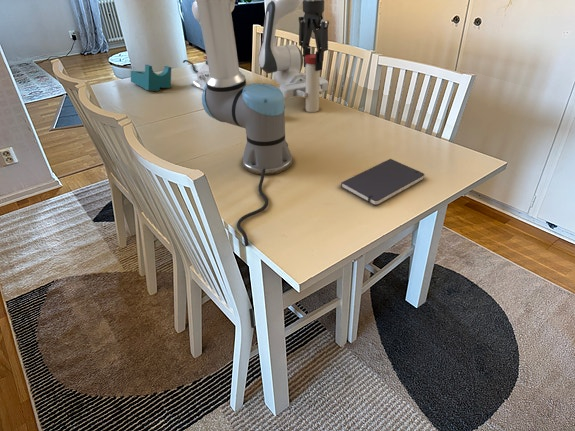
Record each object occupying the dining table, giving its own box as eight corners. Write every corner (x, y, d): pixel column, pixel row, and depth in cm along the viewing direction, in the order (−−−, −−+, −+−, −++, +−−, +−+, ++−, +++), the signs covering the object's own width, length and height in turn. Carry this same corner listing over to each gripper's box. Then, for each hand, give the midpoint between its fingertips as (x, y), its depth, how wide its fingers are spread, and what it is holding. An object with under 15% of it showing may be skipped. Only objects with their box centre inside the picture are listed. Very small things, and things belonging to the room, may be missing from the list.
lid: (301, 62, 151) (301, 56, 149) (310, 59, 154) (310, 53, 153) (315, 65, 147) (315, 58, 146) (324, 61, 151) (324, 55, 150)
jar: (302, 108, 163) (302, 58, 151) (314, 106, 165) (315, 56, 153) (310, 113, 159) (310, 61, 147) (321, 110, 161) (323, 59, 149)
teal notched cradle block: (170, 90, 188) (171, 67, 184) (148, 90, 181) (148, 66, 177) (152, 82, 199) (152, 60, 195) (130, 81, 192) (130, 58, 187)
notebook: (389, 163, 124) (340, 187, 113) (390, 158, 123) (341, 182, 112) (424, 178, 116) (375, 206, 105) (425, 174, 115) (376, 201, 104)
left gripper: (274, 80, 162) (289, 90, 152) (318, 72, 169) (335, 81, 159) (274, 95, 165) (290, 106, 155) (317, 87, 173) (335, 97, 163)
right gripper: (340, 0, 135) (337, 71, 148) (303, -5, 147) (303, 61, 160) (324, 3, 131) (322, 75, 144) (287, -2, 143) (289, 65, 156)
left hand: (313, 93), depth 157 cm, fingers closed on jar, 5 cm apart
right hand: (312, 68), depth 152 cm, fingers closed on lid, 6 cm apart
